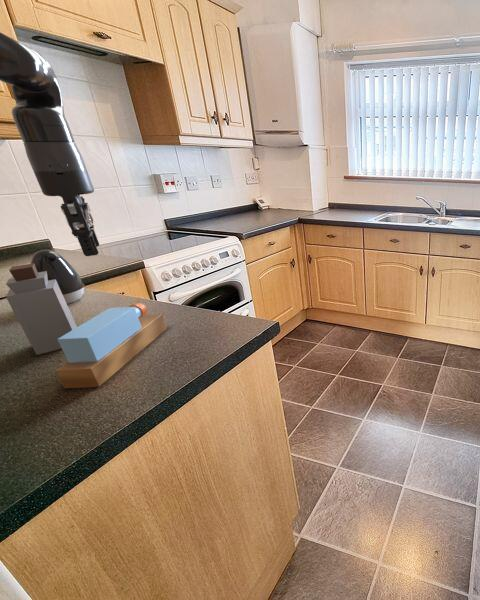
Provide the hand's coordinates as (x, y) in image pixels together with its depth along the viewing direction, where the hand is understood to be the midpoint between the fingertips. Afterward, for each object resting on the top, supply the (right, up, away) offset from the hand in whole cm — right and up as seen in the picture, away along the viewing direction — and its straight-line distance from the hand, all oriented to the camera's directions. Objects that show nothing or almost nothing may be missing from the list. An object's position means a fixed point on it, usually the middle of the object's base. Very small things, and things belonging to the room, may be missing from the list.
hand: (92, 250), depth 71 cm
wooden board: (+6, -22, 0) cm, 23 cm away
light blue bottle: (+6, -18, -1) cm, 19 cm away
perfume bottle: (-12, -20, +5) cm, 24 cm away
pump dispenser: (-31, -11, +26) cm, 42 cm away
